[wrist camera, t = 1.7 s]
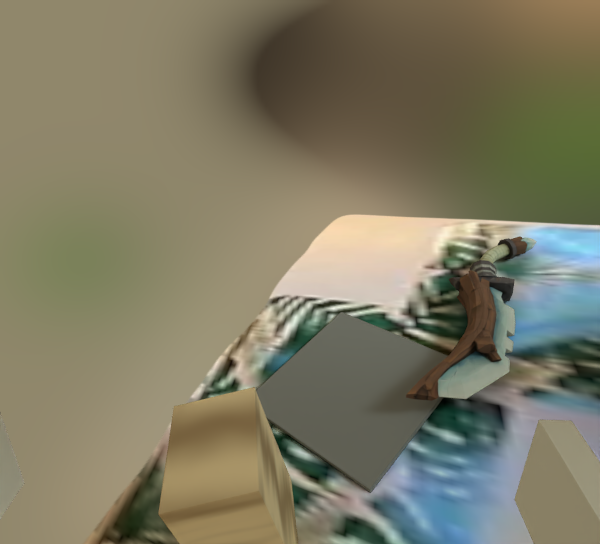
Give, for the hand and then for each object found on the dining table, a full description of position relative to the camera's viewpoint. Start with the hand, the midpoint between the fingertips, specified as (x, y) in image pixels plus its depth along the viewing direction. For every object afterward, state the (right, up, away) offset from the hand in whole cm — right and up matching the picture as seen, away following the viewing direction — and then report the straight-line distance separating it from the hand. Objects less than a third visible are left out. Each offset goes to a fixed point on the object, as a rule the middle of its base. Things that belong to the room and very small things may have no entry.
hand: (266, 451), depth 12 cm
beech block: (-2, -16, +25) cm, 30 cm away
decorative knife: (+21, -1, +39) cm, 45 cm away
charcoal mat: (+6, -7, +35) cm, 37 cm away
